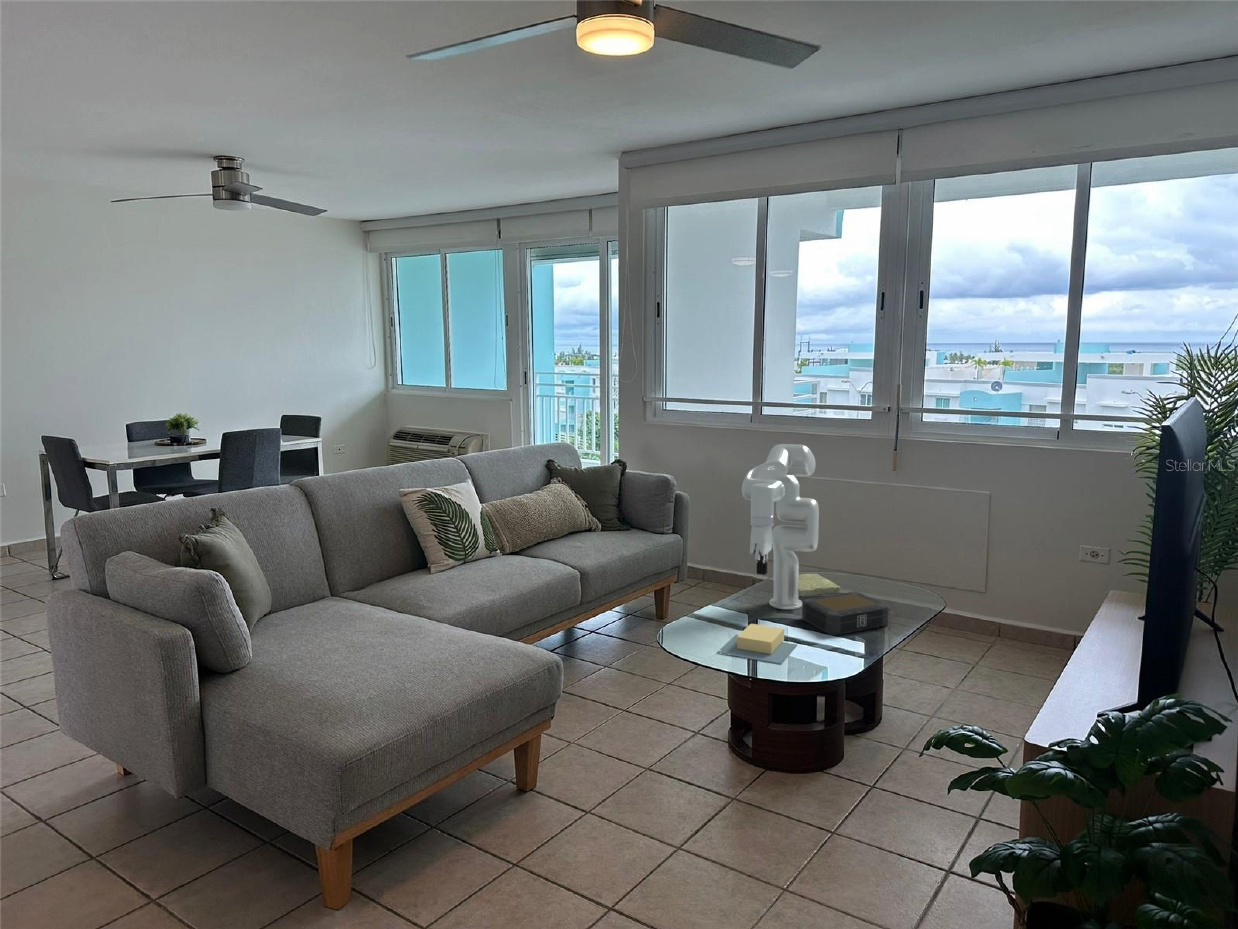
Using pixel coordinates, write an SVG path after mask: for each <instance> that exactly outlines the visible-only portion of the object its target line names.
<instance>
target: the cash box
mask: <svg viewBox="0 0 1238 929" xmlns="http://www.w3.org/2000/svg"><path fill="white" fill-rule="evenodd" d="M801 601H802V606H801V610H802V611H801V618H802V620H803V621H805V622H807V623H808V624H810V625H812V626H814V627H815V628H817V629H820V630H821V631H823V632H825V633H827V634H829V635H830V636H831V635H832V636H838V635H843V634H848V633H853V632H859V631H864V630H870V629H875V628H876V627H877V628H880V627H879V626H882V627H887V626H888V625H889V618H890V617H889V615H890V614H889V611H890V606H889V605H887V604H886V603H883V602H881V601H879V600H876V599H874V598H872V597H870V596H868V595H866V594H863V593H861V592H859V591H850V592H849V591H848V592H843V593H842V592H841V593H835V594H831V595H830V594H828V595H825V596H818V597H812V598H805V599H804V600H801ZM886 625H887V626H886Z"/></svg>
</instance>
